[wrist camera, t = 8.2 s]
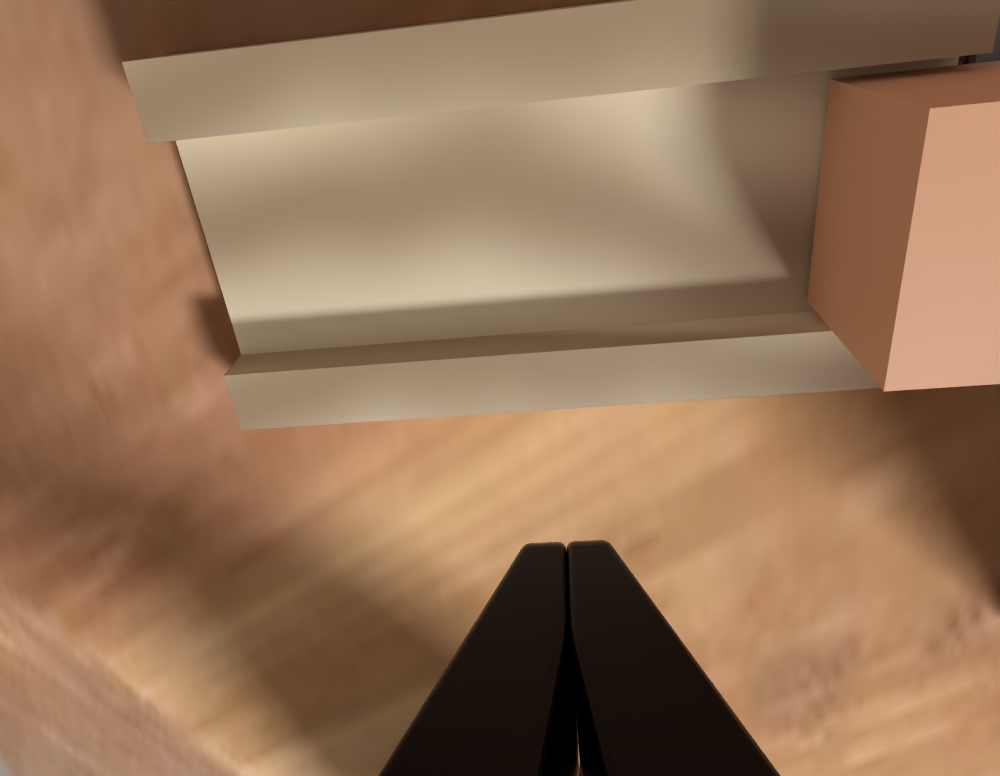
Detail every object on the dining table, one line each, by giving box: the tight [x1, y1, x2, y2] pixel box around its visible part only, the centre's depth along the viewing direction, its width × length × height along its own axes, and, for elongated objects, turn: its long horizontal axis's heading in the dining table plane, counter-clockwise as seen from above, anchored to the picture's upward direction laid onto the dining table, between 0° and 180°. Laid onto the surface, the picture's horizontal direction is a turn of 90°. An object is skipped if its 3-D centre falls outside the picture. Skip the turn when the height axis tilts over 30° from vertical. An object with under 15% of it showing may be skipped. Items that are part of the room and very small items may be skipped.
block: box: [807, 61, 1000, 391], centre depth 14 cm, size 5×5×4 cm
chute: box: [122, 0, 1000, 430], centre depth 17 cm, size 9×17×2 cm, turn 96°
